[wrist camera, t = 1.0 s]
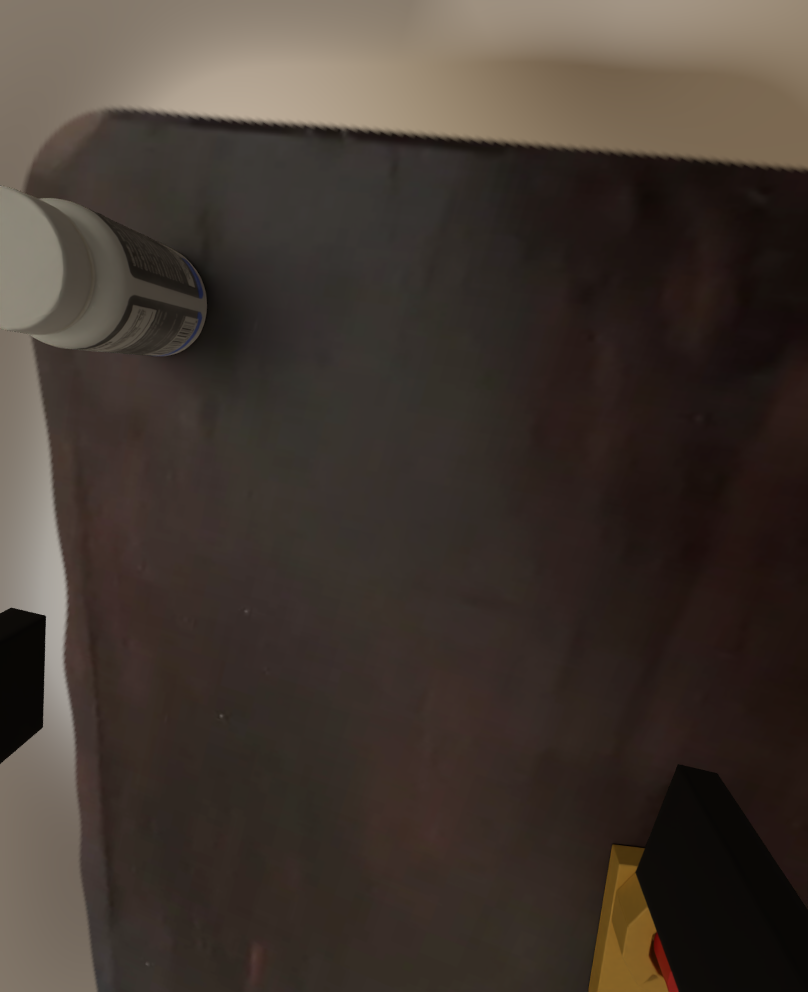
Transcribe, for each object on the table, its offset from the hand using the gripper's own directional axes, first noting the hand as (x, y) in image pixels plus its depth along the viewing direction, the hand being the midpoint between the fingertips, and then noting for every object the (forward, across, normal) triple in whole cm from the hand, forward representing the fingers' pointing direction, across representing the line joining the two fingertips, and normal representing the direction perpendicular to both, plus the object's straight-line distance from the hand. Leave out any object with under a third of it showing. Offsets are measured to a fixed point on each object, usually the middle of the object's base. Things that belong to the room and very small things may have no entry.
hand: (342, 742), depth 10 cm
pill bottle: (+14, -13, +8) cm, 21 cm away
